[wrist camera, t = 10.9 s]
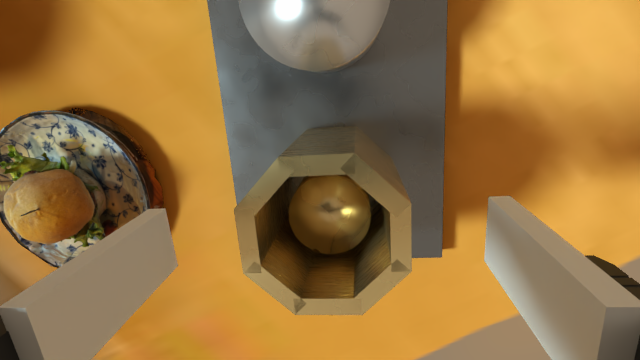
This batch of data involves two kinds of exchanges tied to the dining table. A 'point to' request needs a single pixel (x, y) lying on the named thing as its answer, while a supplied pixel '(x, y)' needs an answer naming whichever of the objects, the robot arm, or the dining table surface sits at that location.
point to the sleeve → (314, 267)
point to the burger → (71, 182)
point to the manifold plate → (337, 103)
